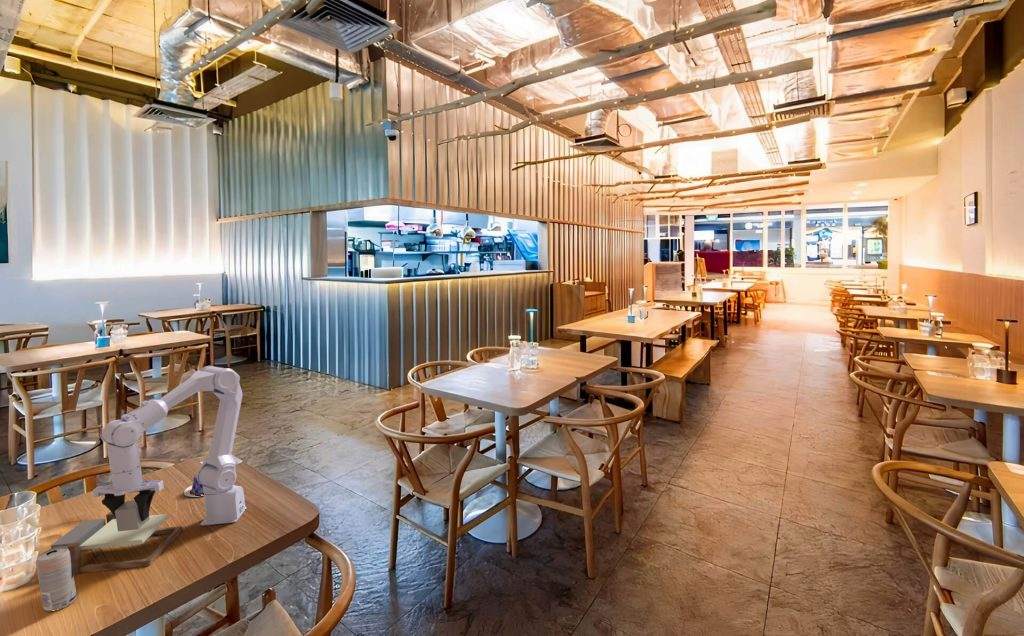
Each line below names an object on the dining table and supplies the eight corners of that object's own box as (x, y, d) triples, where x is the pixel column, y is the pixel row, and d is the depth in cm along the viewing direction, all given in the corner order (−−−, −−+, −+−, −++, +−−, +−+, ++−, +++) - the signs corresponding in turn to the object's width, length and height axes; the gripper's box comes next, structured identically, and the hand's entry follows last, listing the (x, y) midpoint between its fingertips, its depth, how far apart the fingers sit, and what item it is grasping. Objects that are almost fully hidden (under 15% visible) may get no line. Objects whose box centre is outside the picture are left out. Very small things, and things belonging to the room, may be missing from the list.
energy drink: (74, 591, 108) (66, 542, 106) (79, 601, 105) (71, 551, 103) (42, 605, 104) (33, 554, 102) (45, 616, 101) (36, 564, 99)
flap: (169, 519, 129) (168, 511, 129) (142, 546, 117) (141, 537, 117) (86, 527, 126) (85, 519, 126) (50, 555, 114) (48, 546, 114)
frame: (183, 529, 132) (179, 505, 131) (149, 565, 117) (145, 538, 116) (88, 539, 128) (84, 514, 127) (40, 577, 113) (36, 550, 112)
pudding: (180, 490, 156) (178, 474, 155) (221, 477, 164) (220, 463, 163) (188, 503, 147) (186, 487, 146) (231, 488, 155) (230, 473, 155)
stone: (149, 519, 121) (146, 499, 120) (138, 529, 117) (135, 508, 116) (129, 521, 120) (126, 501, 120) (117, 531, 116) (114, 510, 115)
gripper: (80, 478, 111) (89, 532, 113) (148, 472, 114) (156, 525, 116) (101, 465, 118) (109, 516, 120) (165, 460, 121) (171, 510, 122)
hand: (133, 519), depth 118 cm, fingers closed on stone, 5 cm apart
